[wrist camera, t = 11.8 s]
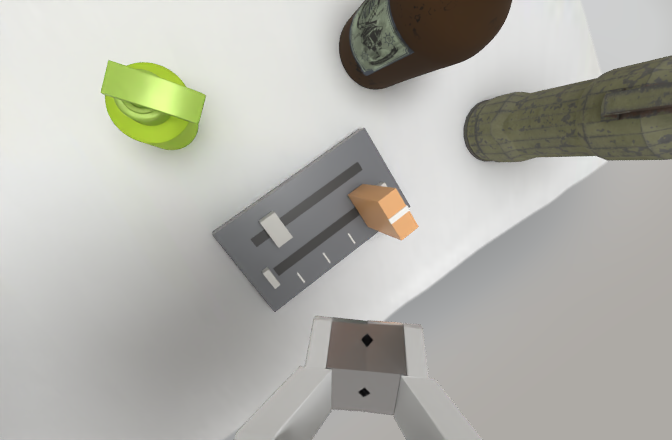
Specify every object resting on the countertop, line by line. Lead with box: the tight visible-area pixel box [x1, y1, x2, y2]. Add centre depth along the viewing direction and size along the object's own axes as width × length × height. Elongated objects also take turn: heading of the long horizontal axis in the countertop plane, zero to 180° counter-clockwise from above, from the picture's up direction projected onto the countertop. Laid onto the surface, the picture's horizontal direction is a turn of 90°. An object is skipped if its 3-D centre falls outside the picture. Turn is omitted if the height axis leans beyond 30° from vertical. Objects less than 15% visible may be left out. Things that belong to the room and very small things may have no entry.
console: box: [213, 128, 410, 312], centre depth 45 cm, size 22×12×4 cm, turn 124°
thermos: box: [464, 56, 672, 162], centre depth 36 cm, size 9×12×35 cm
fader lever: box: [348, 184, 418, 240], centre depth 42 cm, size 2×5×9 cm, turn 34°
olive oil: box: [339, 0, 512, 89], centre depth 34 cm, size 11×11×25 cm
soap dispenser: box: [101, 60, 206, 150], centre depth 30 cm, size 6×7×20 cm
